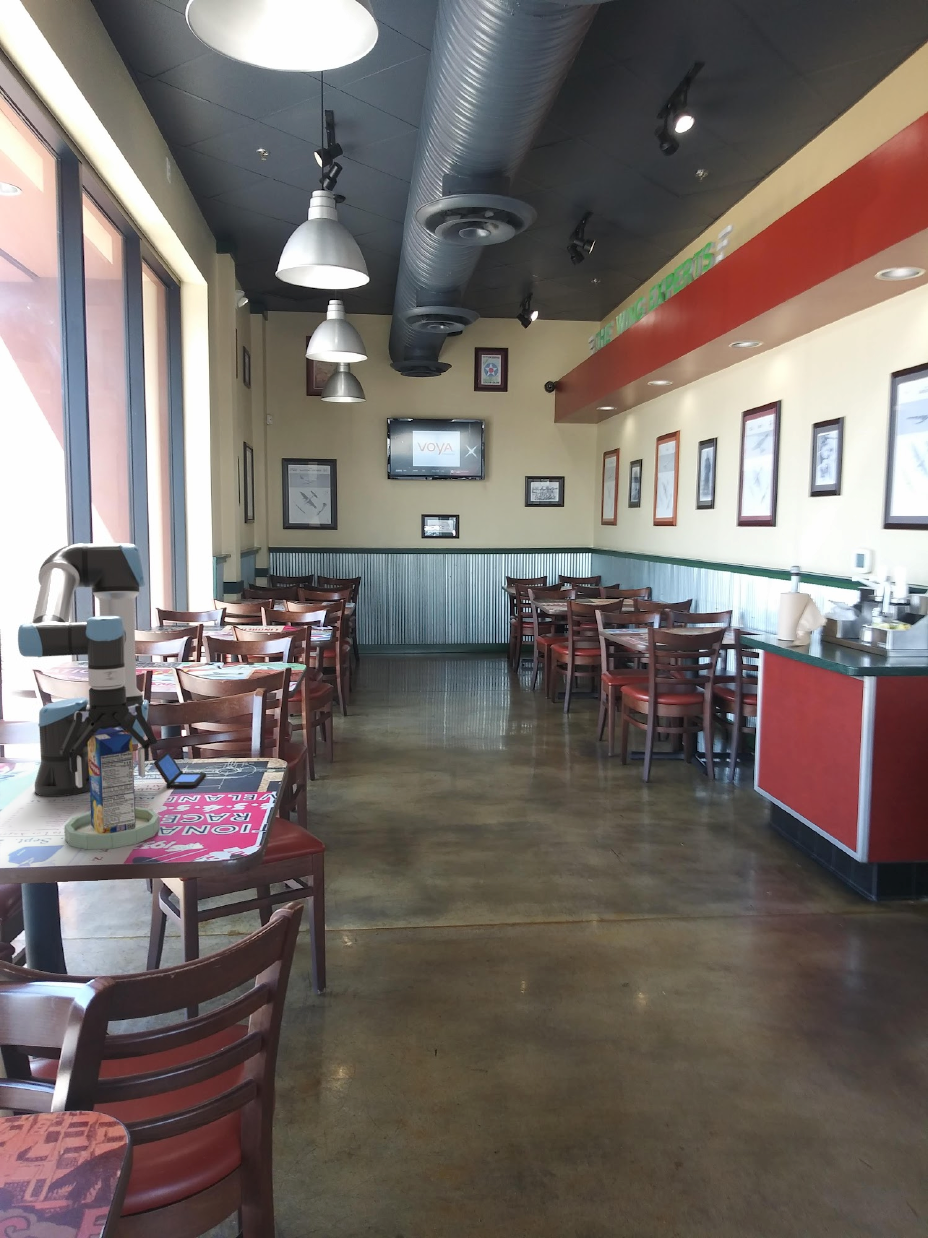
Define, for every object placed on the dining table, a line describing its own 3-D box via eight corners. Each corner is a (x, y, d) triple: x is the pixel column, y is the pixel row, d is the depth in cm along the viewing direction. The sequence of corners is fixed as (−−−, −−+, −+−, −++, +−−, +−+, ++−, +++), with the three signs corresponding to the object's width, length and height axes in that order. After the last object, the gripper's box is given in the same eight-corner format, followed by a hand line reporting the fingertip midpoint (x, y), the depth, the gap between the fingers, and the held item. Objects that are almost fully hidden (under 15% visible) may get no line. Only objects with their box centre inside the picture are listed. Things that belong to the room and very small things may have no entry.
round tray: (58, 830, 193) (57, 817, 192) (144, 814, 204) (143, 802, 204) (77, 855, 177) (76, 841, 177) (169, 836, 189) (168, 823, 188)
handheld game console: (195, 789, 225) (194, 761, 224) (153, 789, 224) (152, 762, 224) (207, 776, 237) (206, 749, 236) (168, 776, 237) (167, 750, 236)
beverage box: (103, 839, 184) (99, 739, 182) (91, 825, 193) (87, 730, 191) (136, 832, 188) (132, 735, 186) (122, 819, 197) (118, 726, 195)
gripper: (49, 695, 177) (54, 794, 179) (169, 683, 192) (172, 775, 194) (42, 689, 183) (47, 786, 185) (159, 678, 198) (162, 768, 200)
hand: (111, 781), depth 189 cm, fingers open, 13 cm apart
